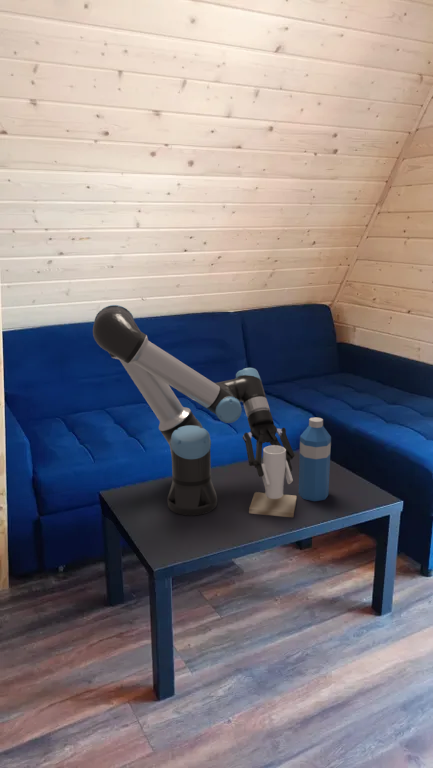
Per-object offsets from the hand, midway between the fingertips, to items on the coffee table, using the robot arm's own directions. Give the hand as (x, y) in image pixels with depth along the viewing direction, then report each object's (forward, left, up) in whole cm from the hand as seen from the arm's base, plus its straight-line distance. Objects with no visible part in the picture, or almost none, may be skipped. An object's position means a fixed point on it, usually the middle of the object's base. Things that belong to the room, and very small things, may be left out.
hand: (278, 484), depth 171 cm
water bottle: (+10, +13, -9) cm, 19 cm away
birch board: (-2, +3, -9) cm, 10 cm away
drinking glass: (-2, +3, -6) cm, 7 cm away
